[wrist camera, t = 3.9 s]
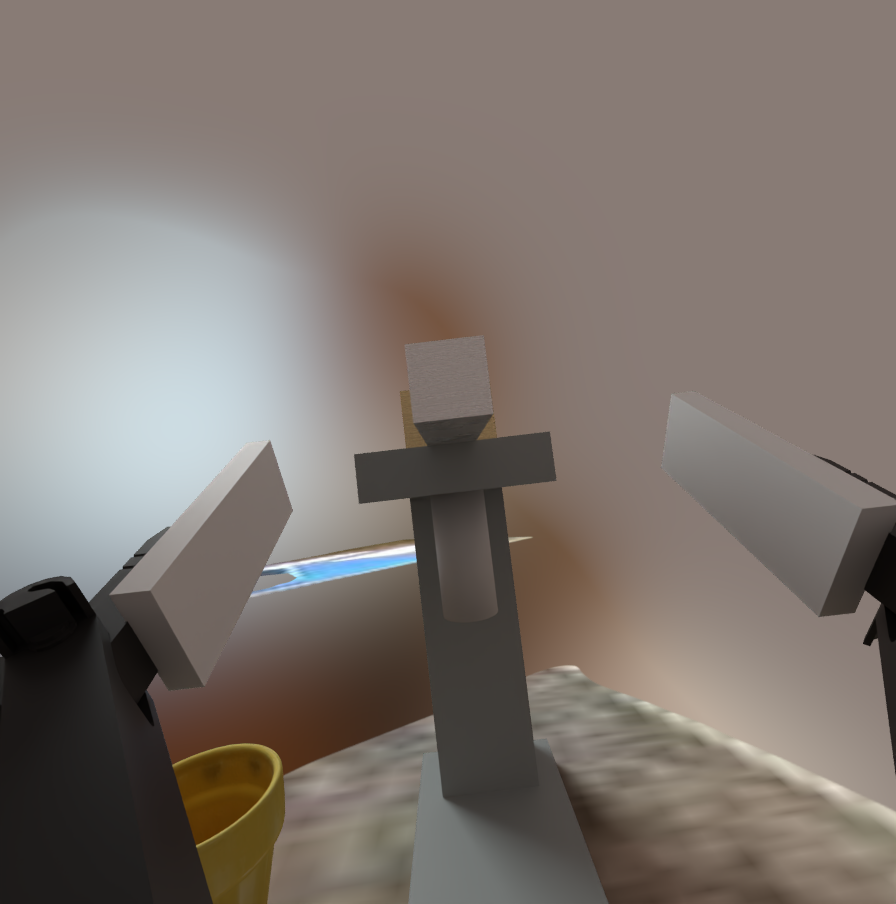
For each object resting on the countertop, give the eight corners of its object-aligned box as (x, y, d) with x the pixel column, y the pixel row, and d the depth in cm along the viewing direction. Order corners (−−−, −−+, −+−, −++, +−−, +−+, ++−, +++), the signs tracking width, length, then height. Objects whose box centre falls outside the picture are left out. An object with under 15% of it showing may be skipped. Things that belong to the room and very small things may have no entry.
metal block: (373, 428, 16) (362, 323, 16) (416, 458, 36) (411, 411, 36) (533, 408, 16) (519, 305, 16) (486, 449, 36) (480, 403, 36)
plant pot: (188, 1107, 20) (173, 886, 20) (56, 1029, 23) (48, 844, 24) (326, 895, 29) (313, 750, 30) (218, 864, 33) (209, 735, 34)
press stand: (408, 987, 23) (354, 454, 26) (425, 775, 40) (392, 465, 43) (621, 961, 23) (549, 431, 26) (549, 760, 40) (510, 451, 43)
